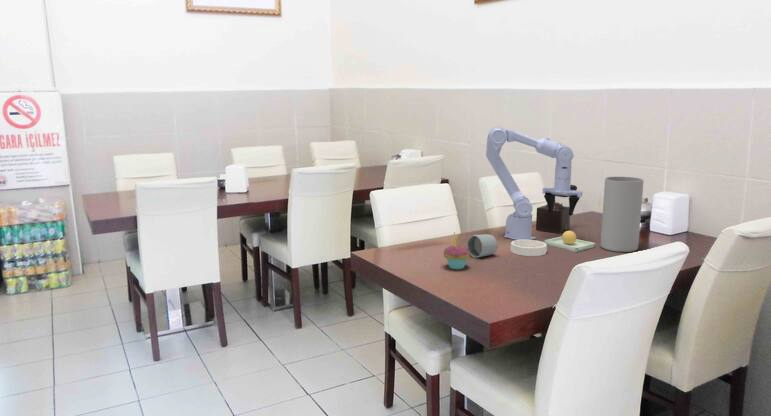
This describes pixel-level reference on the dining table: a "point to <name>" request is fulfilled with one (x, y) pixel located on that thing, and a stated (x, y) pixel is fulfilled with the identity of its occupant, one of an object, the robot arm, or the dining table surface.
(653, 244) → the dining table surface
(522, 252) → the bowl
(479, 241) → the ceramic mug
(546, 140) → the robot arm
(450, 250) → the cupcake
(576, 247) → the tray
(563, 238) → the ball
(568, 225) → the brown manual coffee grinder
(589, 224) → the dining table surface
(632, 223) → the cylinder vase
